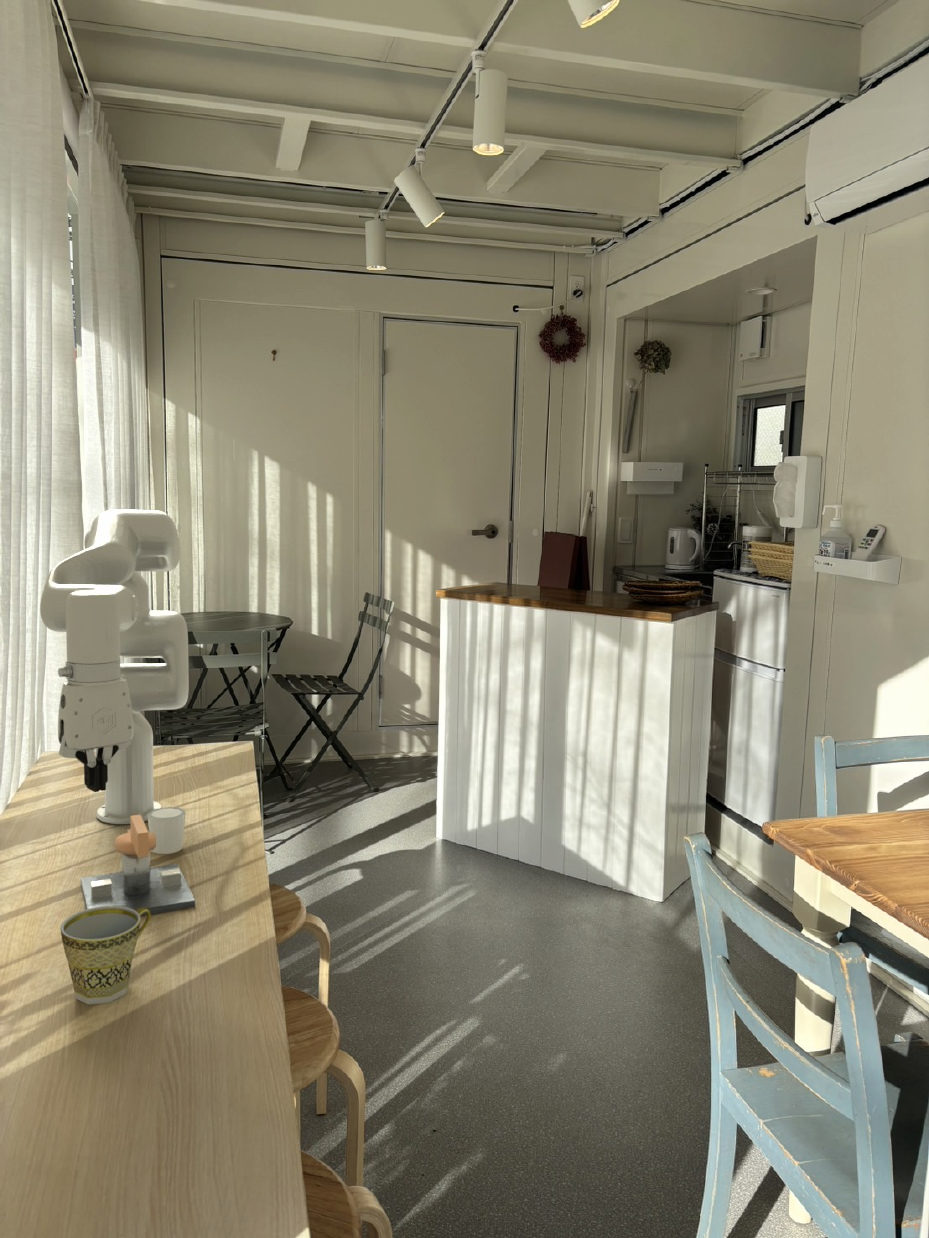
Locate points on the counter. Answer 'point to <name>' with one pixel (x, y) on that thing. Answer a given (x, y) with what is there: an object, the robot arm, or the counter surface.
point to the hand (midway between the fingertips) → (96, 788)
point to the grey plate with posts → (139, 887)
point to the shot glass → (167, 829)
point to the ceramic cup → (101, 950)
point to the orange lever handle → (136, 839)
